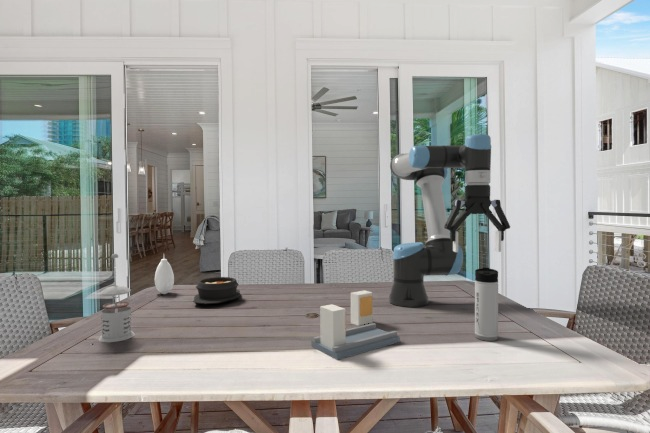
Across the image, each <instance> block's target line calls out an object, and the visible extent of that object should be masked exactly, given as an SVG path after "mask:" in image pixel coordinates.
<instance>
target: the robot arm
mask: <svg viewBox="0 0 650 433" xmlns="http://www.w3.org/2000/svg"><path fill="white" fill-rule="evenodd" d="M491 138H492V137H491V135H489V134H487V133H486V134H485V133H484V134H483V133H481V134H478V133H477V134H470V135H467V136H466V137H465V142H464V145H424V144H421V145H413V146H412V147H411V148H410V150H409V152H408V153H399V154H397V155H395V156H394V157H392V159H391V161H390V164H389V167H390V172H391V173H392V174H393V176H395V177H396V178H397V179H401V180H405V181H415V184H416V186H417V187H419V188H420V192H421V199H422V206H423V212H424V220H425V226H426V227H425V228H426V233H427V234H426V235H427V240H426V241H425V243H423V242H420V241H419V242H417V241H416V242H407V243H400V244H398V245H396V246H394V248H393V254H392V255H393V256H392V259H393V261H392V262H393V263H392V264H393V269H392V270H393V282H392V283H393V284H392V287H391V291H390V293H389V295H388V302H389V303H390V304H392V305H394V306H397V307H398V306H400V307H406V308H407V307H408V308H410V307H411V308H416V307H423V306H424V307H425V306H427V305H428V304H429V296H428V295H427V290H426V287H425V282H424V278H425V276H426V277H427V276H445V277H446V276H450V275H451V276H452V275H455V276H456V275H457V274H458V273H459V272H460V271H461V269H462V267H463V262H464V251H463V249H462V247H461V246H460V245H459V231H457V230H458V228H459V227H460V226H461V225H462V224H463V223H464V222H465V220H466V219H467V218H468V217H469V216H470V215H478V214H479V215H485V216H486V217H487V218H488V220H489V221H490V222H491V223H492V224H493V226H494V227H495V228H496V229H497V230H494V252H498V253H501V252H502V242H504V240H505V239H504V238H505V232H506V230H509V229H510V228H511V224H510V223H509V221H508V219H507V217H506V214H505V213H504V210H503V208H502V206H501V199H493V200H492V199H491V186H490V185H489V184H490V183H491V172H492V170H491V168H492V167H491V162H492V161H491V160H492V158H491V157H492V143H491V142H492V140H491ZM448 168H449V169H458V170H459V169H460V170H461V169H462V170H463V169H464V183H465V184H466V185H465V186H464V200H461V199H455V200H454V204H453V208H452V210H451V212H450V214H449V215H448V217H447V211H446V206H445V199H444V193H443V187H442V185H443V184H444V182H445V179H446V177H447V176H448ZM463 206H464V207H465V209H464V210H463V211H462V212H461V214H460V215H459V216H458V218H456V217H457V215H458V214H459V212H460V209H461V208H462V207H463ZM491 206H492V207H493V209H494V211H495V213H496V215H497V217H498V219H497V217H496V216H495V214H493V211H492V210H491V209H490V207H491Z"/></svg>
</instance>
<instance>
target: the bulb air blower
mask: <svg viewBox="0 0 650 433" xmlns="http://www.w3.org/2000/svg"><path fill="white" fill-rule="evenodd" d="M162 255H163V258H162V259H160V262H159V264H158V265H157V266H156V270H155V274H154V285H155V288H156V291H158V293H159V292H160V294H162V295H166V294H167V295H168V293H170V292H171V291H172V290H173V287H174V283H175V275H174V270H173V268H172V266H171V263H170V262H168V259H167V258H165V253H163V254H162Z"/></svg>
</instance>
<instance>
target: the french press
mask: <svg viewBox="0 0 650 433" xmlns="http://www.w3.org/2000/svg"><path fill="white" fill-rule="evenodd" d="M110 258H111V259H114V261H113V262H114V266H116V259H118V258H119V255H118V254H117V253H112V254H111V256H110ZM116 274H117V272H116V269H114V285H113V286H108V287H106V288H104V289H103V290H102V291H100V292H99V293H100V295H102V296H105V297H109V296H110V297H111V296H112V302H108V303H105V304H103V305H102V308H103V309H102V310H100V317H101V318H100V320H101V323H100V324H101V335H100V337H99V338H98V341H99V342H102V343H114V342H115V343H118V342H120V341H126V340H128V339H131V338H133V337H134V336H135V335H136V334H135V332H134V331H133V330H132V313H131V312H132V308H131V307H130V306H129V305H130V302H128V301H121V300H120V299H121V298H120V296H122V295H125V294H129V293H130V292H131V288H129V287H127V286H124V285H117V281H116V280H117V278H116ZM117 299H118V301H117ZM116 310H117V312H116Z"/></svg>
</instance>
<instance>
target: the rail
mask: <svg viewBox="0 0 650 433" xmlns="http://www.w3.org/2000/svg"><path fill="white" fill-rule="evenodd" d="M319 311H320V312H319V319H320V321H319V326H320V327H319V329H320V330H319V333H320V334H319V335H317V336H314V337H312V338H313V340H311V342H310V343H311V347H312V346H313V347H312V348H315V349H316V350H318V351H320V352H321V353H324V354H325V355H328V356H329V357H331V358H333V359H335V360H336V361H338V360H343V359H345V358H348V357H352V356H355V355H359V354H363V353H366V352H370V351H373V349H374V350H376V349H380V348H384V347H387V346H390V345H394V344H398V343H400V342H401V337H400V336H399V335H398V331H396V330H392V331H389V332H388V331H385V330H382V329H380V328H378V327H377V323H375V322H373V323H369V324H365V325H360V326H355V327H352V328H347V311H346V308H345V307H341V306H339V305H336V304H327V305H321V306H319ZM397 342H398V343H397ZM369 350H370V351H369Z"/></svg>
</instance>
